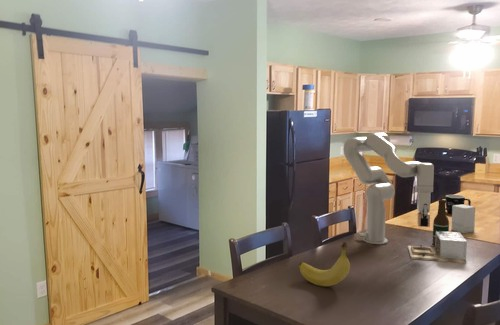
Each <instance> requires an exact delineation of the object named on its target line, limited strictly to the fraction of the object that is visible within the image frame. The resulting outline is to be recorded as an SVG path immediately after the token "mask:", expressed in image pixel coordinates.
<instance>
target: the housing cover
mask: <svg viewBox="0 0 500 325" xmlns="http://www.w3.org/2000/svg"><path fill="white" fill-rule="evenodd" d="M467 245H468V241H467V240H466V238H465V237H464V236H463V235H462V233H461V232H458V231H449V232H446V231H436V242H435V247H434V248H438V249H440V258H448V259H460V260H466V261H467V249H468V248H467Z"/></svg>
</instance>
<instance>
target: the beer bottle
mask: <svg viewBox="0 0 500 325" xmlns="http://www.w3.org/2000/svg"><path fill="white" fill-rule="evenodd" d="M437 202H438V206H437V214H436V215H435V217H434V219H433V223H432V224H433V225H432V245H435V242H436V231H446V232H450V230H449V229H450V221H449V217H448V216H447V214H446V212H447V211H446V210H445V208H446V200H445V199H441V200H440V199H439V200H438V201H437Z"/></svg>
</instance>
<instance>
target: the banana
mask: <svg viewBox="0 0 500 325" xmlns="http://www.w3.org/2000/svg"><path fill="white" fill-rule="evenodd" d="M348 245H349V244H348V242H347V241H343V242H342V244H341V245H340V248H341V253H340V256H339V257H338V258H337V259H336V261H335V263H334V264H333V265H332V266H331V268H329V269H325V270H324V269H319V268H317V267H314V266H312V265H311V264H308V263H306V262H300V263H299V265H298V266H299V272H300V274H301V276H302V277H303V278H304V279H305V280H307V281H308V283H309V282H310V283H311V284H313V285H316V286H319V287H331V286H335V285H337V284H339V283H340V282H342V281H343V280H345V279H346V277H347V276H348V275H349V273H350V271H351V264H350V261H349V260H350V259H348V257H347V254H346V250H347V248H348Z"/></svg>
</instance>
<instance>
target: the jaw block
mask: <svg viewBox="0 0 500 325" xmlns="http://www.w3.org/2000/svg"><path fill="white" fill-rule="evenodd" d="M423 214H424V213H423ZM417 226H418V227H419V228H420V227H422V228H424V227H425V226H421V212H419V211H418V212H417ZM430 226H431V214H430V212H428V226H427V227H425V228H430Z"/></svg>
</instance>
